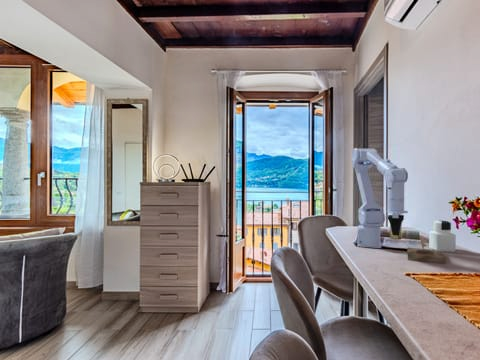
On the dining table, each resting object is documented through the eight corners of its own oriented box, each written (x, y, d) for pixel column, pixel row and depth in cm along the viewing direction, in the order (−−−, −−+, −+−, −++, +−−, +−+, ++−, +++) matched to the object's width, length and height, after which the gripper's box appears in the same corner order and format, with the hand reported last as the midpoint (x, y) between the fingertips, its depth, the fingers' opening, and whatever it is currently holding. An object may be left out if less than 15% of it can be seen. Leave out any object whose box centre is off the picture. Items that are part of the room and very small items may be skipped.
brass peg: (389, 239, 125) (390, 220, 125) (390, 237, 129) (390, 219, 129) (401, 239, 124) (401, 221, 123) (401, 238, 127) (401, 220, 127)
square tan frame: (407, 259, 121) (407, 254, 121) (407, 252, 132) (407, 247, 132) (445, 263, 116) (445, 258, 115) (442, 255, 126) (442, 250, 126)
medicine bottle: (446, 247, 139) (446, 219, 139) (455, 251, 132) (456, 222, 131) (428, 247, 140) (429, 219, 139) (437, 251, 132) (437, 222, 132)
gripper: (407, 201, 118) (407, 238, 118) (407, 198, 130) (407, 231, 131) (386, 200, 121) (386, 237, 121) (388, 197, 134) (388, 230, 134)
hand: (395, 234), depth 126 cm, fingers closed on brass peg, 4 cm apart
